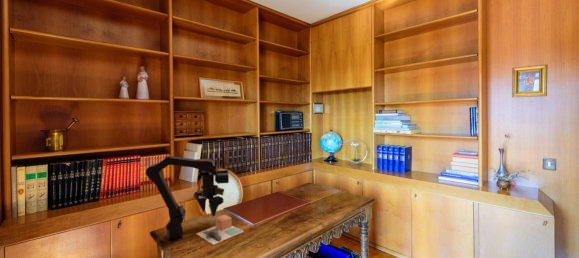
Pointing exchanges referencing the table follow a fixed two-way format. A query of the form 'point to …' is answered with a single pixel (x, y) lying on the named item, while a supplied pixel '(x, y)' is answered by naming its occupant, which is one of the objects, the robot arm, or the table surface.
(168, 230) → the robot arm
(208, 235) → the t key
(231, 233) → the panel
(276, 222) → the table surface
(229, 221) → the salmon orange cube
